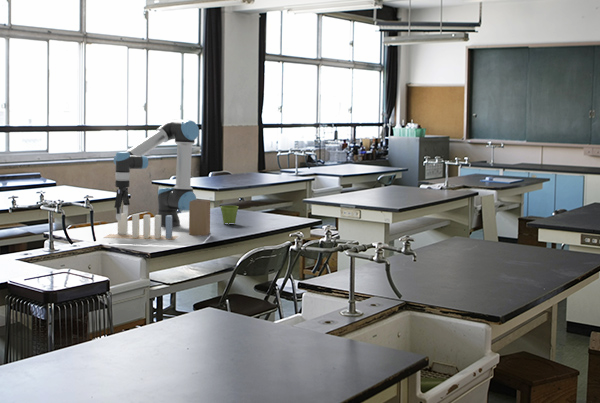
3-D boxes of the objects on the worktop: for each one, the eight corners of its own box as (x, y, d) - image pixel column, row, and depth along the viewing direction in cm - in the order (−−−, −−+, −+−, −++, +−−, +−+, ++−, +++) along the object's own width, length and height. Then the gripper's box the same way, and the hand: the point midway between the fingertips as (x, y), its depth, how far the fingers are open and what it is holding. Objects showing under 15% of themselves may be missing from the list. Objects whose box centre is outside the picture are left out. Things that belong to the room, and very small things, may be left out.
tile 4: (156, 236, 369) (156, 214, 368) (161, 236, 369) (161, 215, 368) (154, 238, 364) (154, 216, 363) (159, 238, 364) (159, 216, 363)
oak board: (109, 235, 373) (109, 234, 373) (178, 238, 373) (178, 236, 373) (103, 239, 362) (103, 237, 361) (173, 241, 361) (173, 239, 361)
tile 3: (145, 236, 369) (145, 214, 368) (150, 236, 369) (150, 214, 368) (143, 237, 365) (143, 215, 363) (148, 237, 365) (148, 215, 363)
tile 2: (134, 236, 369) (134, 214, 368) (139, 236, 369) (139, 214, 368) (132, 237, 365) (132, 215, 363) (137, 237, 365) (137, 215, 363)
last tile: (167, 237, 369) (167, 215, 368) (172, 237, 369) (172, 215, 368) (165, 238, 364) (165, 216, 363) (170, 238, 364) (170, 216, 363)
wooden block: (210, 234, 387) (210, 199, 385) (206, 237, 377) (206, 201, 375) (193, 233, 388) (193, 199, 386) (188, 236, 378) (188, 201, 376)
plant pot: (220, 222, 434) (221, 205, 433) (239, 223, 434) (239, 205, 433) (218, 225, 422) (218, 207, 421) (237, 226, 422) (237, 208, 421)
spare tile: (117, 235, 376) (117, 213, 375) (119, 234, 379) (118, 213, 377) (126, 235, 376) (126, 214, 375) (127, 234, 379) (127, 213, 377)
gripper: (122, 178, 386) (121, 215, 388) (108, 181, 361) (108, 220, 364) (135, 178, 386) (134, 215, 388) (122, 181, 361) (122, 221, 363)
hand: (122, 218), depth 376 cm, fingers open, 13 cm apart
